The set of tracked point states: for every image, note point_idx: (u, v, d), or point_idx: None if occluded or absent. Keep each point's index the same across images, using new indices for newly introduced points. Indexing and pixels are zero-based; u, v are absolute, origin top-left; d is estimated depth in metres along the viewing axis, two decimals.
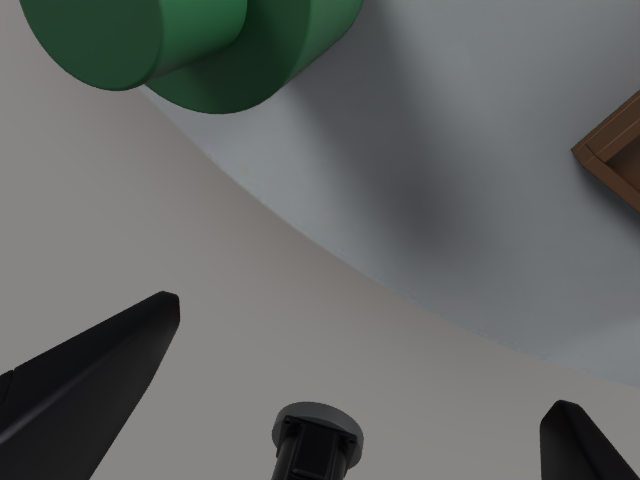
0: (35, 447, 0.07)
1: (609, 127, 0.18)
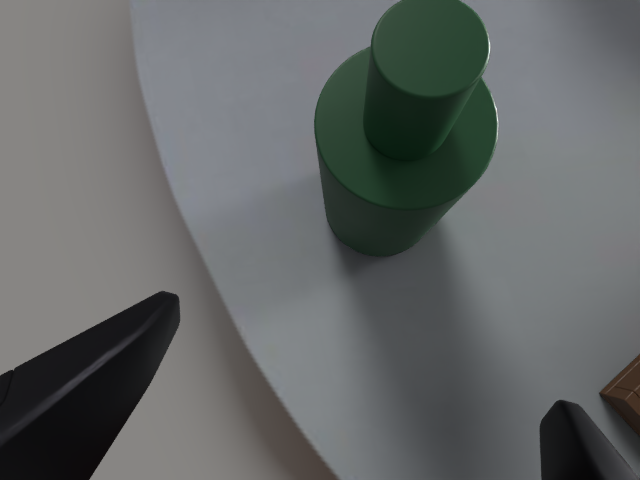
0: (35, 447, 0.07)
1: (633, 372, 0.21)
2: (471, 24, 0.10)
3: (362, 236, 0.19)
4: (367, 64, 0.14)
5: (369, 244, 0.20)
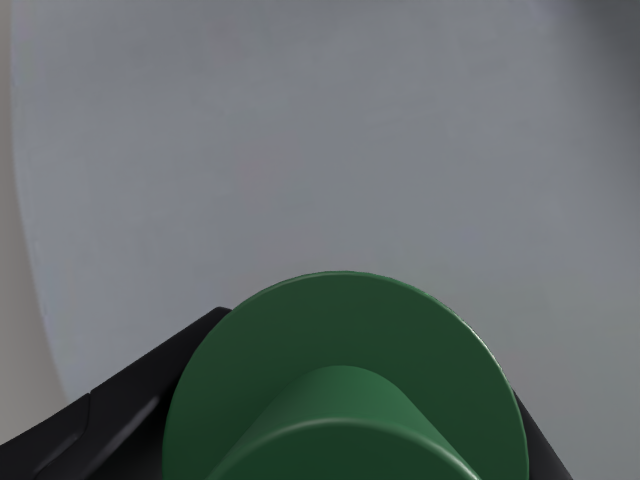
0: (117, 473, 0.07)
1: None
2: None
3: None
4: (271, 323, 0.07)
5: None
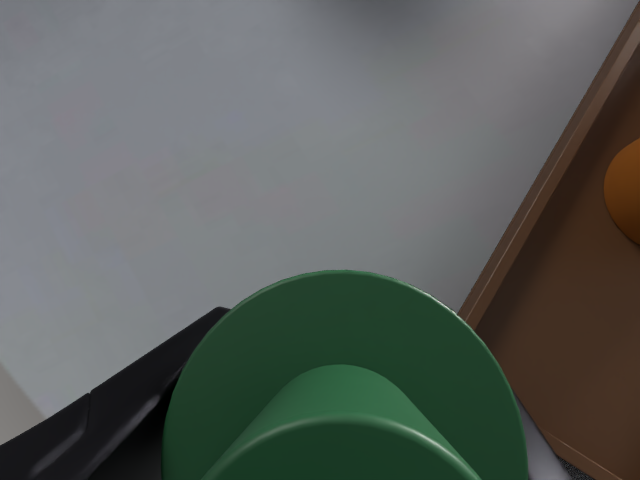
0: (117, 473, 0.07)
1: None
2: None
3: None
4: (270, 322, 0.07)
5: None
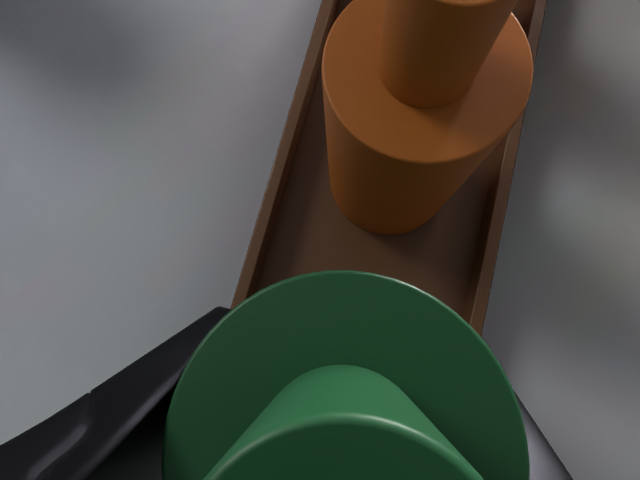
0: (117, 473, 0.07)
1: None
2: None
3: None
4: (271, 322, 0.07)
5: None
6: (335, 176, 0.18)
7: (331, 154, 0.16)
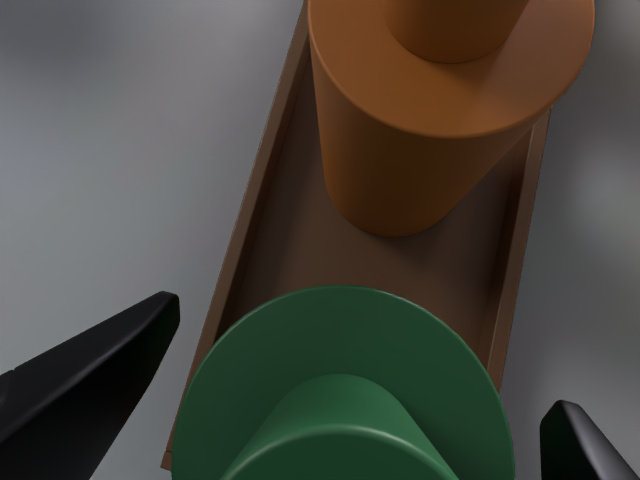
0: (35, 447, 0.07)
1: None
2: None
3: None
4: (273, 333, 0.08)
5: None
6: (329, 165, 0.14)
7: (323, 136, 0.13)
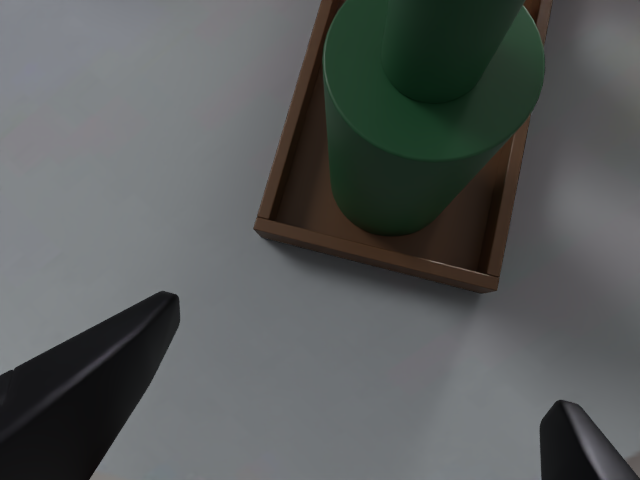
0: (35, 447, 0.07)
1: None
2: None
3: (375, 208, 0.17)
4: None
5: (382, 219, 0.18)
6: None
7: None
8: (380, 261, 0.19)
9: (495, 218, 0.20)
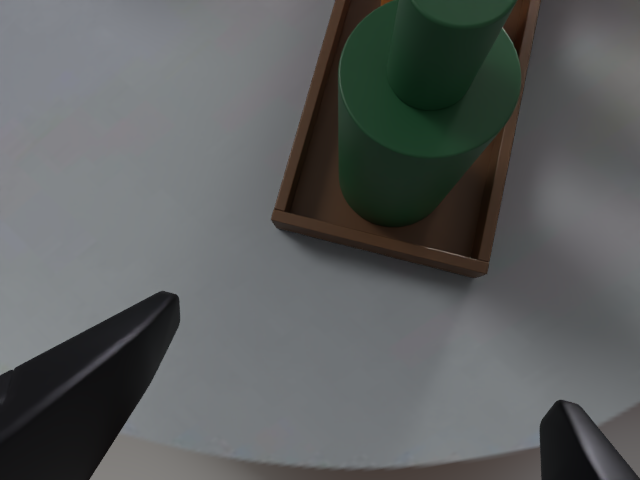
0: (35, 447, 0.07)
1: None
2: None
3: (379, 200, 0.19)
4: (390, 17, 0.15)
5: (385, 210, 0.20)
6: (392, 0, 0.21)
7: None
8: (383, 248, 0.22)
9: (486, 210, 0.22)
